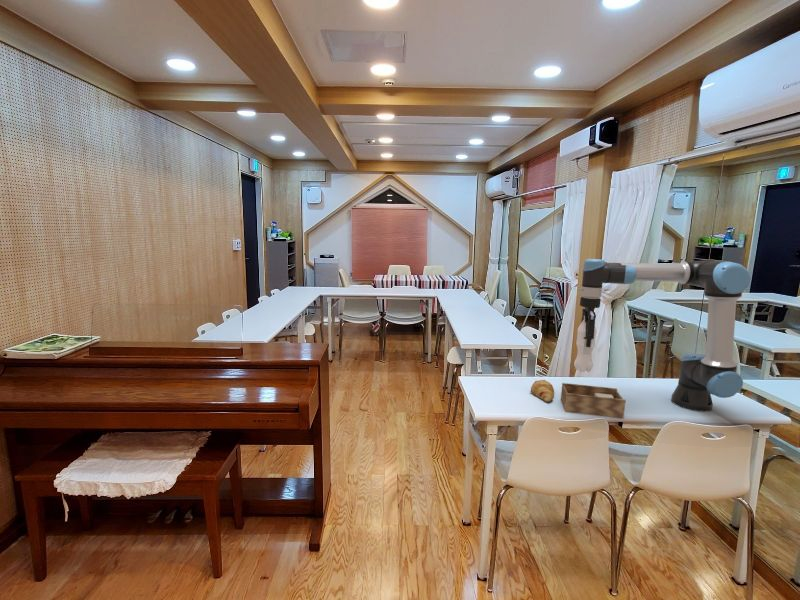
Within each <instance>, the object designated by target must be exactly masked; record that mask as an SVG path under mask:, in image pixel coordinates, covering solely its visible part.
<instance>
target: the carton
mask: <svg viewBox="0 0 800 600" xmlns="http://www.w3.org/2000/svg"><path fill="white" fill-rule="evenodd" d="M594 396H597V397H606V398H614V397H613V396H612V395H611V394H601V393H595V394H594Z"/></svg>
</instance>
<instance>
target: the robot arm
mask: <svg viewBox="0 0 800 600" xmlns="http://www.w3.org/2000/svg"><path fill="white" fill-rule="evenodd" d="M637 281H638V282H674V283H675V282H676V283H678V284H679V285H690V286H696V287H699V288H700V287H701V288H704V294H703V295H704V297H706V299H707V300H708V309H707V324H706V325H707V326H706V329H707V330H706V344H705V345H706V346H705V354H703V353H692V352H689V353H684V354H683V355H682V358H681V360H680V366H679V367H680V369H679V375H678V382H677V385H676V387H675V389H674V391H673V392H672V394H671V397H670V401H671V402H672V403H673V402H674V403H675V404H674V403H673V404H674V405H676V404H677V405H676V406H678V405H679V406H678V407H681V408H683V407H684V409H687V410H690V411H697V412H710V411H712V410H713V407H714V405H713V404H714V403H713V400H712V396H715V397H717V398H722V399H723V398H724V399H726V398H731V397H733V396H735V395H736V394H738V393H739V392H740V391H742V388H743V385H744V379H743V377H742V376H741V375H740V374H739V373H738V372H737V369H738V364H737V362H736V361H735V360H733V358H734V357H733V356H734V340H735V326H736V325H735V324H736V310H737V309H736V307H737V301H738V300H739V299H741V298H742V296H743V294H742V293H743V292H744V291H745V290H746V289H747V288H749V285H750V283H751V275H750V272H749V270H748V269H747V268H746V267H745V266H744V265H742V264H740V263H738V262H734V261H733V262H732V261H725V260H724V261H723V260H711V259H708V260H696V261H695V260H694V261H681V262H680V263H650V262H649V263H647V262H646V263H644V262H642V263H641V262H638V263H637V262H632V263H631V262H606V261H605V260H604V259H599V258H597V259H596V258H586V259H585V260H584V263H583V269H582V281H581V282H582V283H581V288H580V289H579V291H580V296H581V297H580V300H579V306H580V307H582V313H581V314H582V315H581V321H580V322H581V323H582V321H583V320H584V316H585V322H586V337H583V338H584V349H583V354H586V355H591V345H592V339H594V329H595V328H596V317H597V314H596V312H595V309H598V308H600V307H601V298H602V291H603V284H616V285H620V284H621V285H632V284H633V283H634V282H637ZM585 311H586V312H585ZM581 323H580V324H581ZM589 335H590V336H589Z"/></svg>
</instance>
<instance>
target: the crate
mask: <svg viewBox="0 0 800 600" xmlns="http://www.w3.org/2000/svg"><path fill="white" fill-rule="evenodd" d="M595 393H601V394H611V395H612V396H613V397H614V398H606V397H597V396H594V394H595ZM560 402H561V404H562V407H563V410H564V412H565V413H573V414H583V415H589V416H590V415H591V416H598V417H599V416H600V417H605V418H606V417H608V418H614V419H615V418H616V419H622V420H623V419H624V418H625V417H624V416H625V407H626V398H625V399H624V398H623V397H622V396H621V394H620V392H618V388H614V387H605V386H595V385H584V384H576V383H567V382H566V383H565V382H562V384H561V393H560Z"/></svg>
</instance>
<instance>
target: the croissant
mask: <svg viewBox="0 0 800 600" xmlns="http://www.w3.org/2000/svg"><path fill="white" fill-rule="evenodd" d="M530 391H531V393H533V395H534V396H536V397H537V398H539V399H540V400H542V401H544V402H546V403H550V402H551V401H553V399H554V398H555V397H554V396H555V389H554V386H553V384H552V383H550V382H549V381H547V380H545V379H540V380H535V381H534V382H533V383H532V385H531V386H530Z"/></svg>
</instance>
